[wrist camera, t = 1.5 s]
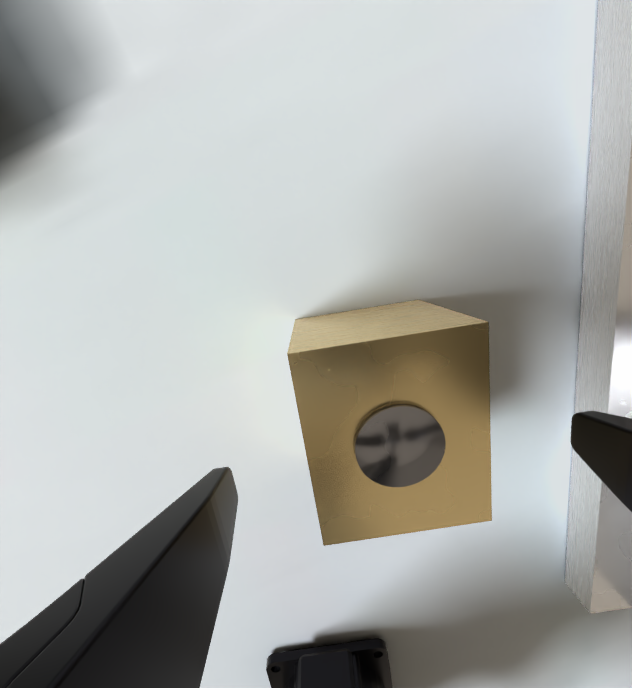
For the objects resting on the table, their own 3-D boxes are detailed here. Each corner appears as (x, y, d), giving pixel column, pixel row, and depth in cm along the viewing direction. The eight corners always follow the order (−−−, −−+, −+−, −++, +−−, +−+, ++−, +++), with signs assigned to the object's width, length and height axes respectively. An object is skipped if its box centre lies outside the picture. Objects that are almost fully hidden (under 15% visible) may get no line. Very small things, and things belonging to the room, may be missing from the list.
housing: (427, 431, 14) (495, 525, 9) (318, 448, 14) (323, 551, 9) (417, 299, 12) (493, 323, 7) (295, 319, 12) (286, 356, 7)
